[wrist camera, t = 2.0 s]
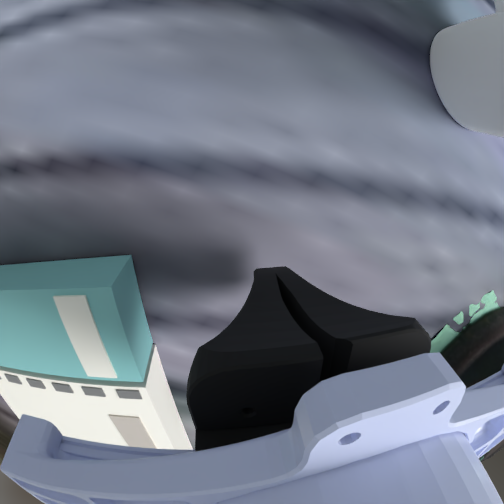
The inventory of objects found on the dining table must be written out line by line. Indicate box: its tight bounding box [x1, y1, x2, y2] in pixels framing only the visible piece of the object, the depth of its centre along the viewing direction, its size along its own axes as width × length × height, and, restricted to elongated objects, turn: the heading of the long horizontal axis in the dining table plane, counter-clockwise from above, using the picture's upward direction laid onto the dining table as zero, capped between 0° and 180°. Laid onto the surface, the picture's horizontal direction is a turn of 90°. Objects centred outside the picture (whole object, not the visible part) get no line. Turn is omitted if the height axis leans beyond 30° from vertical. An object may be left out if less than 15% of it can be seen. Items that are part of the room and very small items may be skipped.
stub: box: [0, 255, 153, 382], centre depth 12 cm, size 5×12×3 cm, turn 92°
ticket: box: [0, 344, 193, 450], centre depth 15 cm, size 12×12×3 cm
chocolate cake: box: [430, 291, 504, 462], centre depth 16 cm, size 20×20×9 cm
